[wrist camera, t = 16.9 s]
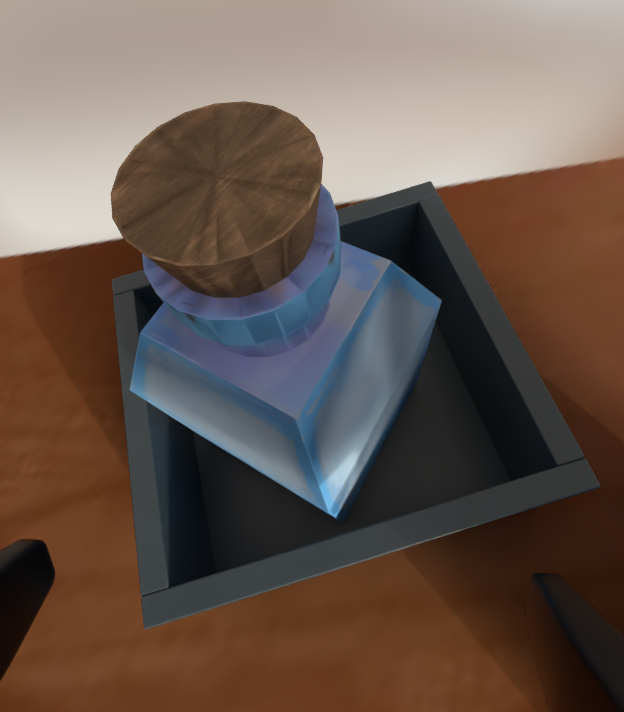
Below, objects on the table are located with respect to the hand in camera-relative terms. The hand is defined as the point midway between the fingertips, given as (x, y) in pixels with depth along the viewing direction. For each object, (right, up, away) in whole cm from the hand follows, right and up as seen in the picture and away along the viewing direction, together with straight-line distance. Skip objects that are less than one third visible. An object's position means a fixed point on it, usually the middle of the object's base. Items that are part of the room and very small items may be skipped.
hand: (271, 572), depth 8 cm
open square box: (+1, +2, +10) cm, 10 cm away
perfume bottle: (+1, +2, +10) cm, 10 cm away
